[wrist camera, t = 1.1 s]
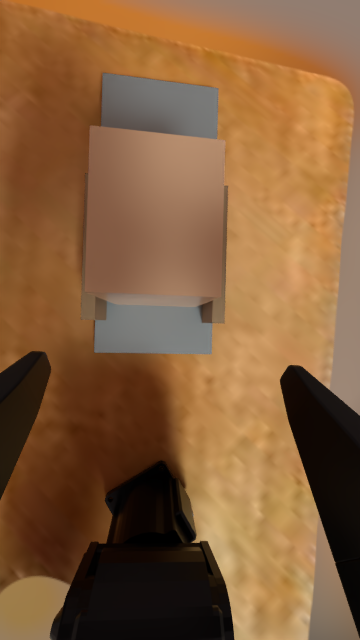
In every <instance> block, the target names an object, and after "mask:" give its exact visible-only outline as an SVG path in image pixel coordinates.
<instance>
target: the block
mask: <svg viewBox="0 0 360 640" xmlns="http://www.w3.org/2000/svg"><path fill="white" fill-rule="evenodd" d="M224 172H225V140H219V139H210V138H201V137H192V136H183V135H173V134H164V133H155V132H146V131H137V130H128V129H119V128H110V127H101V126H92V125H90V135H89V167H88V199H87V231H86V264H85V292H86V293H89V294H91V295H93V296H96V297H98V298H101V299H103V300H106V301H108V302H111V303H113V304H118V305H147V306H177V307H197V306H199V305H202V304H205V303H207V302H210V301H213V300H215V299H218V298H221V289H222V250H223V211H224Z"/></svg>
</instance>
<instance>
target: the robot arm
mask: <svg viewBox="0 0 360 640" xmlns="http://www.w3.org/2000/svg"><path fill="white" fill-rule="evenodd" d="M50 373H51V366H50V363H49V360H48V357H47V355H46V353H45V352H42V351H32V352H30V353H28V354H27V355H25V356H24V357H22V358H21V359H20V360H18V361H17V362H15V363H14V364H13V365H11V366H10V367H8V368H7V369H6V370H4V371H3V372H1V373H0V500H1V497H2V495H3V493H4V490H5V488H6V486H7V483H8V481H9V479H10V477H11V474H12V472H13V470H14V467H15V465H16V463H17V461H18V458H19V456H20V454H21V451H22V449H23V447H24V445H25V442H26V440H27V438H28V435H29V433H30V431H31V429H32V426H33V424H34V422H35V419H36V417H37V414H38V411H39V409H40V405H41V402H42V399H43V396H44V392H45V389H46V386H47V383H48V380H49V376H50ZM280 385H281V389H282V394H283V398H284V403H285V408H286V412H287V416H288V420H289V424H290V427H291V430H292V433H293V436H294V439H295V442H296V445H297V448H298V451H299V454H300V457H301V461H302V464H303V467H304V470H305V473H306V476H307V479H308V482H309V485H310V488H311V491H312V494H313V497H314V500H315V503H316V506H317V509H318V512H319V515H320V518H321V521H322V524H323V527H324V531H325V534H326V537H327V540H328V543H329V546H330V549H331V552H332V555H333V558H334V561H335V562H336V563H335V565H336V568H337V571H338V574H339V577H340V580H341V583H342V586H343V589H344V592H345V595H346V598H347V601H348V604H349V607H350V610H351V613H352V616H353V619H354V622H355V625H356V628H357V631H358V634H359V638H360V416H359V415H358V414H357V413H356V412H355V411H354V410H352V409H351V408H350V407H349V406H348V405H346V404H345V403H344V402H343V401H342V400H340V399H339V398H338V397H337V396H336V395H334V394H333V393H332V392H331V391H330V390H329V389H328V388H326V387H325V386H324V385H323V384H322V383H320V382H319V381H318V380H317V379H316V378H315V377H313V376H312V375H311V374H310V373H309V372H308V371H306V370H305V369H304V368H303V367H301V366H299V365H290V366H288V367H287V369H286V370H285V372H284V373H283V375H282V376H281V379H280ZM160 466H163V467H164V468H162V469H161V468H159V467H160ZM109 497H112V498H113V499H109ZM105 502H106V504H107V506H108V508H109V509H110V511H111V513H112V515H113V516H112V521H111V525H110V530H109V534H108V538H107V543H106V544H99V542H91V543H90V545H89V548H88V550H87V552H86V553H85V554H84V556H83V558H82V561H81V563H80V565H79V567H78V570H77V572H76V574H75V577H74V579H73V581H72V584H71V586H70V588H69V591H68V593H67V596H66V598H65V602H64V605H63V607H62V608H61V610H60V611H59V613H58V614H57V615H56V617H55V619H54V621H53V624H52V628H51V632H50V639H51V640H234V630H233V622H232V614H231V607H230V602H229V597H228V592H227V588H226V584H225V581H224V579H223V576H222V574H221V571H220V569H219V567H218V564H217V562H216V560H215V558H214V555H213V553H212V551H211V548H210V546H209V544H208V541H200V543H192V542H193V541H194V540H196V530H195V524H194V519H193V511H192V508H191V503H190V499H189V497H188V495H187V493H186V491H185V490H184V488H183V486H182V484H181V482H180V481H179V479H178V478H174V477H173V475H172V473H171V471H170V470H169V468H168V466H167V464H166V463H165V462H164V461H160V462H158V463H156V464H155V465H153V466H151V467H150V468H148V469H146V470H145V471H143V472H141V473H140V474H138V475H136V476H135V477H133V478H131V479H130V480H128V481H126V482H125V483H123V484H121V485H120V486H118V487H116V488H115V489H113V490H111V491H110V492H108V493H107V495H106V498H105Z"/></svg>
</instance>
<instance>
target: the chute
mask: <svg viewBox="0 0 360 640" xmlns="http://www.w3.org/2000/svg"><path fill="white" fill-rule="evenodd" d="M217 122H218V88H213V87H205V86H198V85H190V84H183V83H176V82H168V81H161V80H153V79H146V78H138V77H131V76H123V75H116V74H109V73H103V82H102V114H101V127H110V128H119V129H128V130H137V131H146V132H155V133H164V134H173V135H183V136H192V137H201V138H210V139H217ZM87 199H88V173H85V200H84V232H83V264H82V296H81V320H95V343H94V353H165V354H212V323H224V324H225V285H226V246H227V206H228V186H224V211H223V250H222V289H221V298H218V299H215V300H213V301H210V302H207V303H205V304H202V305H199V306H197V307H177V306H147V305H118V304H113V303H111V302H108V301H106V300H103V299H101V298H98V297H96V296H93V295H91V294H89V293H86V292H85V264H86V231H87Z"/></svg>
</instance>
